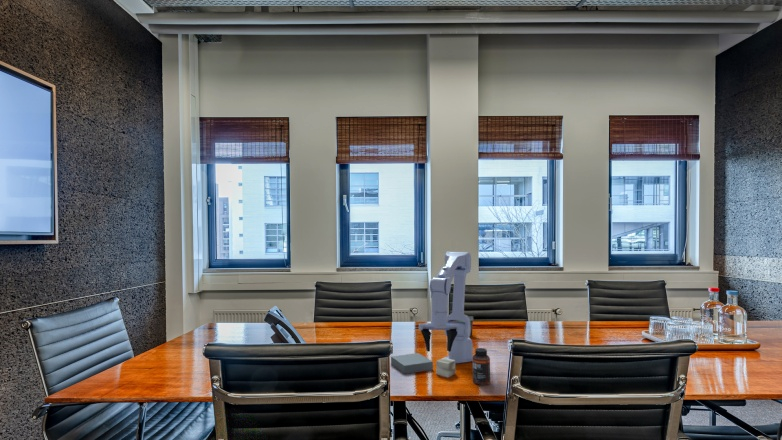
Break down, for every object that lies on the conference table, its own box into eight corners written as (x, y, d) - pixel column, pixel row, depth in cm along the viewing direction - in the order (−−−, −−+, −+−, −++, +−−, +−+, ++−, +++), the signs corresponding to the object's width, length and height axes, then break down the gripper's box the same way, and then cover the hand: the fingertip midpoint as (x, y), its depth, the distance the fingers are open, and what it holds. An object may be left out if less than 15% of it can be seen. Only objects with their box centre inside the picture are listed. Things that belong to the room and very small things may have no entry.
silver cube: (443, 371, 152) (443, 357, 152) (455, 374, 149) (455, 360, 149) (436, 374, 148) (436, 360, 149) (447, 377, 145) (448, 363, 145)
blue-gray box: (418, 360, 164) (418, 352, 164) (432, 369, 153) (432, 361, 153) (391, 364, 159) (391, 356, 160) (404, 374, 148) (404, 365, 149)
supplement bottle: (487, 379, 144) (487, 347, 144) (492, 385, 138) (492, 352, 138) (470, 379, 143) (470, 347, 144) (474, 385, 138) (474, 352, 138)
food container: (451, 331, 212) (451, 312, 213) (462, 330, 214) (462, 311, 215) (462, 337, 201) (462, 317, 201) (473, 336, 203) (473, 316, 203)
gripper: (422, 312, 139) (421, 353, 137) (462, 313, 141) (462, 353, 140) (417, 310, 146) (416, 349, 144) (456, 310, 148) (455, 349, 147)
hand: (438, 350), depth 143 cm, fingers open, 7 cm apart
